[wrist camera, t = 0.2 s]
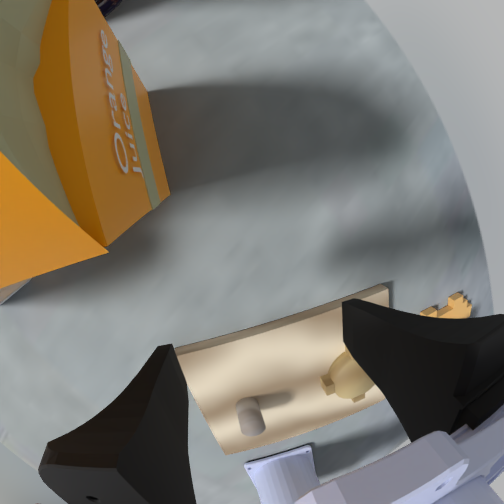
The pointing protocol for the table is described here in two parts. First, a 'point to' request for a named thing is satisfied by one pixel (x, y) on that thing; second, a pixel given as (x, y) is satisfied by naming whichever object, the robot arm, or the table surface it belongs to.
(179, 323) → the table surface
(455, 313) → the gear
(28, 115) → the orange juice
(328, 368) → the carrier plate
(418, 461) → the robot arm
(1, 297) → the skincare box
